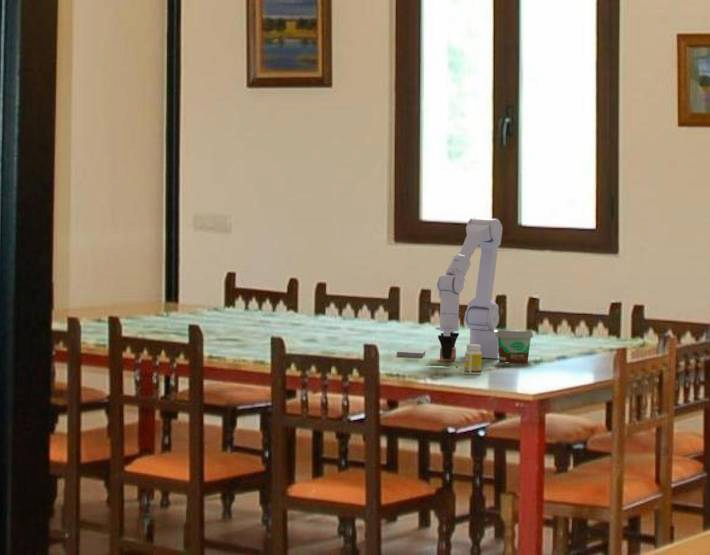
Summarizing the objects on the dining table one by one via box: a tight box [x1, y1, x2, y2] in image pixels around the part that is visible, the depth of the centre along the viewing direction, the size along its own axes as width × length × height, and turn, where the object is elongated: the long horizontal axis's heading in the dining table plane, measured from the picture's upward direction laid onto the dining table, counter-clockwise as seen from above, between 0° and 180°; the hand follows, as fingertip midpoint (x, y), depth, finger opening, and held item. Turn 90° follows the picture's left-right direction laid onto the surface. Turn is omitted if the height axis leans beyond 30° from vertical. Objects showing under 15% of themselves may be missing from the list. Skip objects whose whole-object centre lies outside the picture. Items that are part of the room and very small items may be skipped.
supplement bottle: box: [464, 343, 483, 376], centre depth 401 cm, size 5×5×8 cm
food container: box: [496, 328, 534, 364], centre depth 430 cm, size 12×6×10 cm, turn 114°
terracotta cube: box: [439, 346, 457, 362], centre depth 426 cm, size 4×4×4 cm
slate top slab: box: [396, 348, 426, 359], centre depth 434 cm, size 8×8×2 cm
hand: (447, 357), depth 426 cm, fingers open, 7 cm apart
